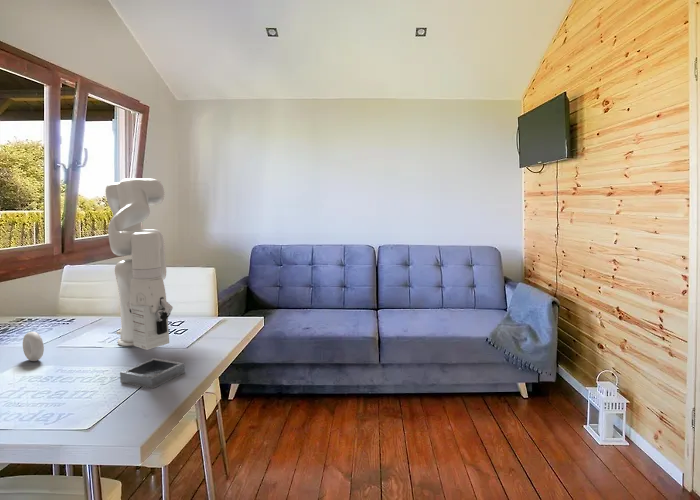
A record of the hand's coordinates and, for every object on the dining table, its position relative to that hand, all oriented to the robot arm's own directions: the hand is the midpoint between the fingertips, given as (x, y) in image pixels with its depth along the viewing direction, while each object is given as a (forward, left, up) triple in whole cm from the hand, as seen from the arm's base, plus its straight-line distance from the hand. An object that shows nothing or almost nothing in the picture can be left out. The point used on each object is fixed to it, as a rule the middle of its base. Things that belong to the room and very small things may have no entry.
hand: (150, 331), depth 127 cm
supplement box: (0, 0, -4) cm, 4 cm away
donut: (-49, -4, -14) cm, 51 cm away
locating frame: (0, 0, -14) cm, 14 cm away
